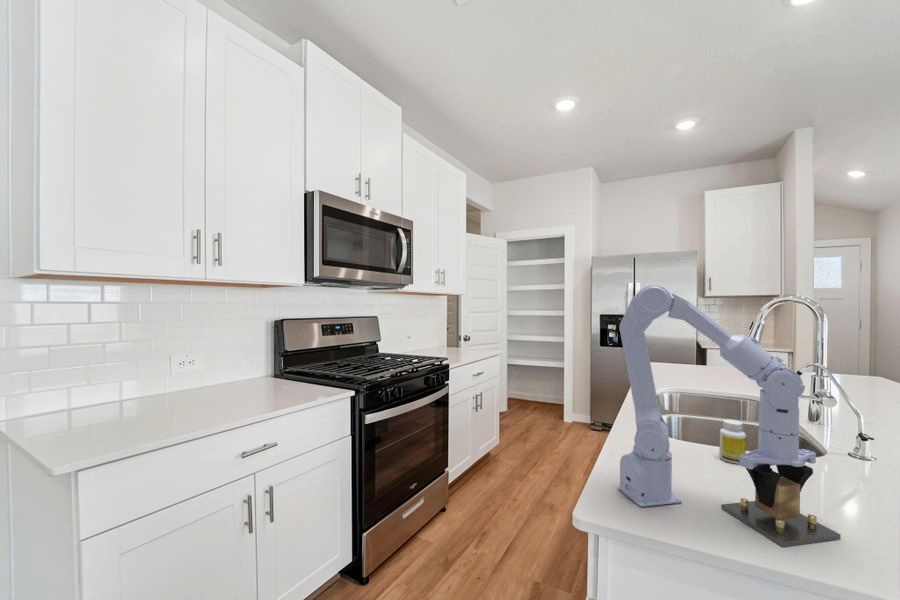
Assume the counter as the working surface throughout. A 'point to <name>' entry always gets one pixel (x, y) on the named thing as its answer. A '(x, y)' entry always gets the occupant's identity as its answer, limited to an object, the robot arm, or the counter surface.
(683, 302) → the robot arm
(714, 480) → the counter surface
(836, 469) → the counter surface
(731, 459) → the supplement bottle
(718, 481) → the counter surface
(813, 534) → the plate
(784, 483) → the oak block
